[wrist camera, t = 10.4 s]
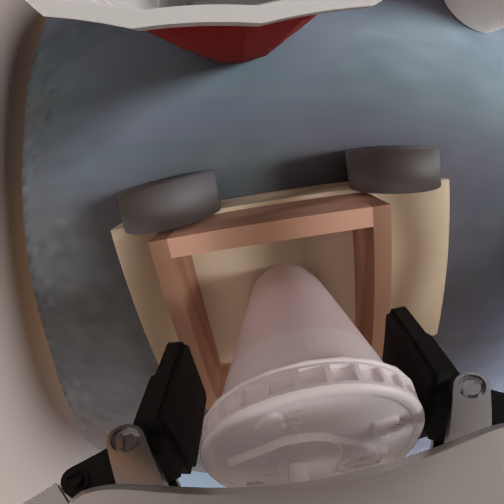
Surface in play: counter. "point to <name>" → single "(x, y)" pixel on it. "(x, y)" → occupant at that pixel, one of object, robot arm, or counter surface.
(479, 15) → the roll
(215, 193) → the chassis
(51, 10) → the plastic cup
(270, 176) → the counter surface
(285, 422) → the smoothie
